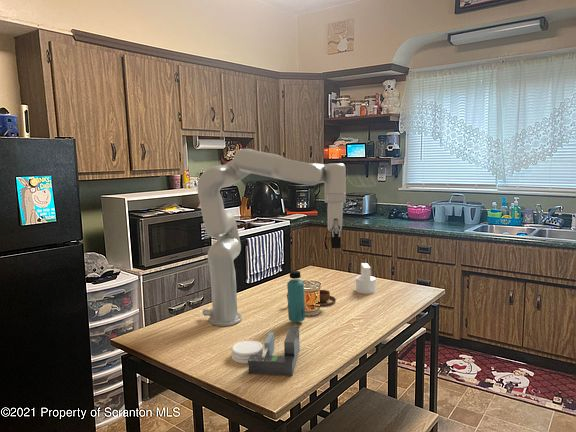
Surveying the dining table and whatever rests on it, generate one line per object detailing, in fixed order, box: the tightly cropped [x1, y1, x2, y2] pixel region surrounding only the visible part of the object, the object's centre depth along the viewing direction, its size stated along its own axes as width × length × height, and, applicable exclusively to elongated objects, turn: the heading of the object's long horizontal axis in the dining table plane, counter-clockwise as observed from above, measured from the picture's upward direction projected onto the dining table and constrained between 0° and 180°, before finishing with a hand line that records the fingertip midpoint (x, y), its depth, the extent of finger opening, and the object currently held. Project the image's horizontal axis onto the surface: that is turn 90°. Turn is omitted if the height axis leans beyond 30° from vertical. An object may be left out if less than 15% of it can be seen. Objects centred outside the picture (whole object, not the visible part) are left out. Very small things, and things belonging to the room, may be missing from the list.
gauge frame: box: [247, 325, 301, 377], centre depth 134 cm, size 13×17×8 cm
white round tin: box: [231, 340, 264, 364], centre depth 138 cm, size 10×10×4 cm
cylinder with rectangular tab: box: [355, 262, 377, 295], centre depth 200 cm, size 9×9×12 cm
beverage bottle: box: [286, 270, 306, 323], centre depth 164 cm, size 6×7×20 cm
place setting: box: [286, 289, 337, 307], centre depth 187 cm, size 18×20×6 cm
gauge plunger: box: [262, 332, 275, 358], centre depth 134 cm, size 2×14×6 cm, turn 171°
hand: (335, 245), depth 157 cm, fingers open, 9 cm apart
